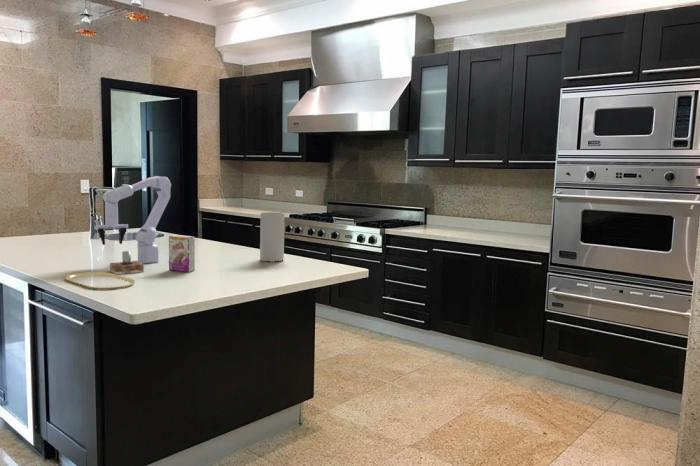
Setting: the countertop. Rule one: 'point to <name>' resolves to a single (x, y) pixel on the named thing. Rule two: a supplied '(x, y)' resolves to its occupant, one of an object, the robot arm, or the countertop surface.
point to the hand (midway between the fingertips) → (112, 244)
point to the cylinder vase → (272, 236)
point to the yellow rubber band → (100, 274)
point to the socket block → (126, 267)
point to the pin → (126, 257)
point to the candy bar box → (181, 253)
